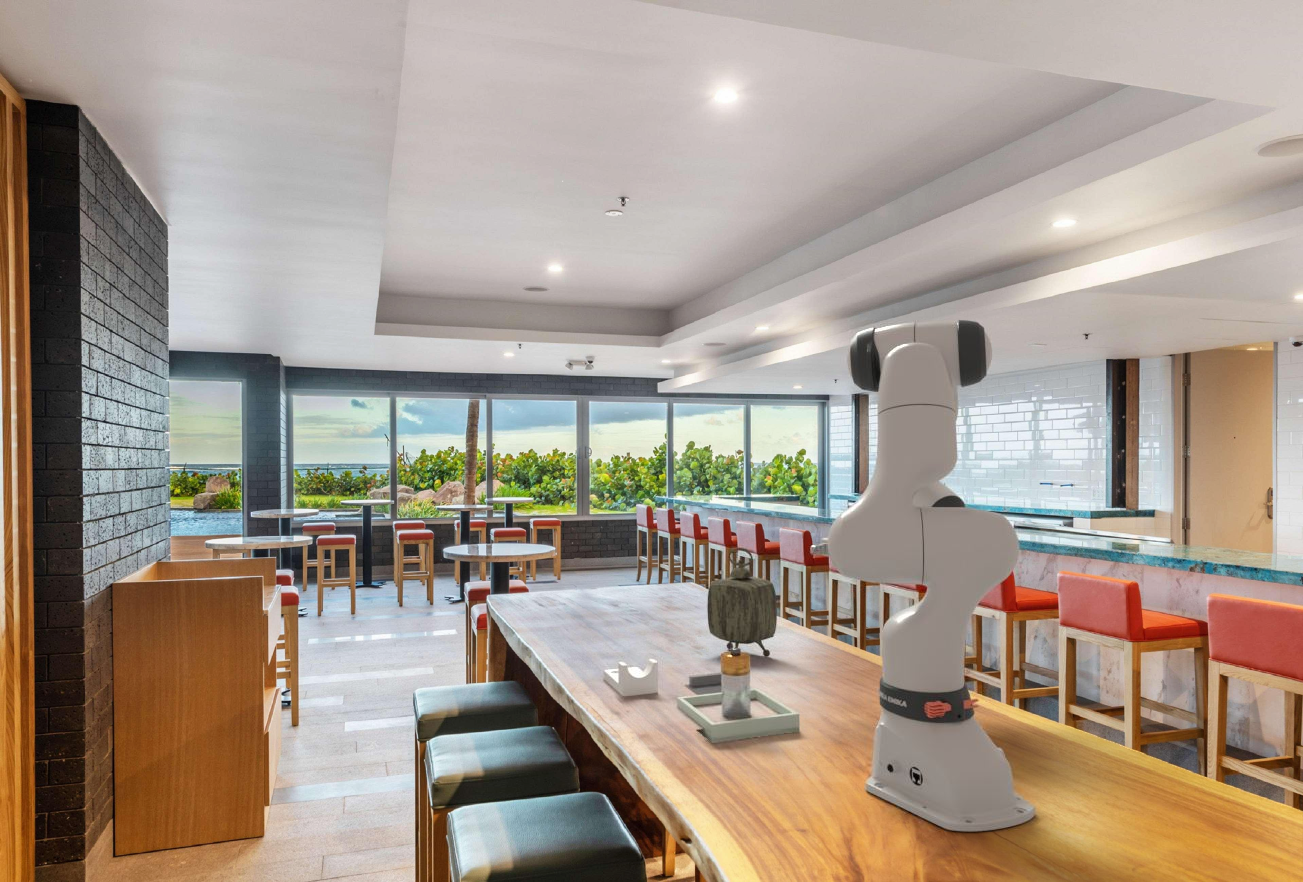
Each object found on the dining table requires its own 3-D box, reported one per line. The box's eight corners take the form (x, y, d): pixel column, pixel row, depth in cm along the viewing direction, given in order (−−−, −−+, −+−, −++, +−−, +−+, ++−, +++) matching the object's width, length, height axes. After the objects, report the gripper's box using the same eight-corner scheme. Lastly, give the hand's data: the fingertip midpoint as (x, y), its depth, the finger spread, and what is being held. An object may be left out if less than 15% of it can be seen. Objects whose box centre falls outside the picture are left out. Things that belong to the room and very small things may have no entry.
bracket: (658, 701, 156) (657, 662, 156) (622, 705, 153) (622, 665, 153) (637, 684, 168) (636, 647, 168) (603, 687, 166) (603, 650, 166)
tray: (799, 731, 137) (799, 713, 137) (712, 743, 132) (711, 724, 132) (757, 704, 152) (757, 688, 152) (677, 714, 147) (677, 697, 147)
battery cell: (755, 720, 140) (755, 650, 141) (728, 724, 139) (728, 653, 139) (743, 712, 145) (742, 644, 146) (717, 715, 144) (716, 647, 144)
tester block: (752, 701, 154) (752, 684, 154) (703, 707, 151) (703, 689, 151) (730, 687, 164) (730, 671, 164) (684, 692, 160) (684, 676, 160)
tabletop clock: (777, 656, 188) (776, 548, 188) (754, 664, 181) (752, 552, 182) (728, 647, 198) (726, 544, 198) (704, 654, 191) (703, 547, 192)
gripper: (856, 528, 168) (797, 531, 164) (919, 538, 149) (854, 541, 145) (857, 559, 168) (798, 563, 164) (920, 572, 149) (854, 577, 145)
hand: (824, 553), depth 154 cm, fingers open, 8 cm apart
